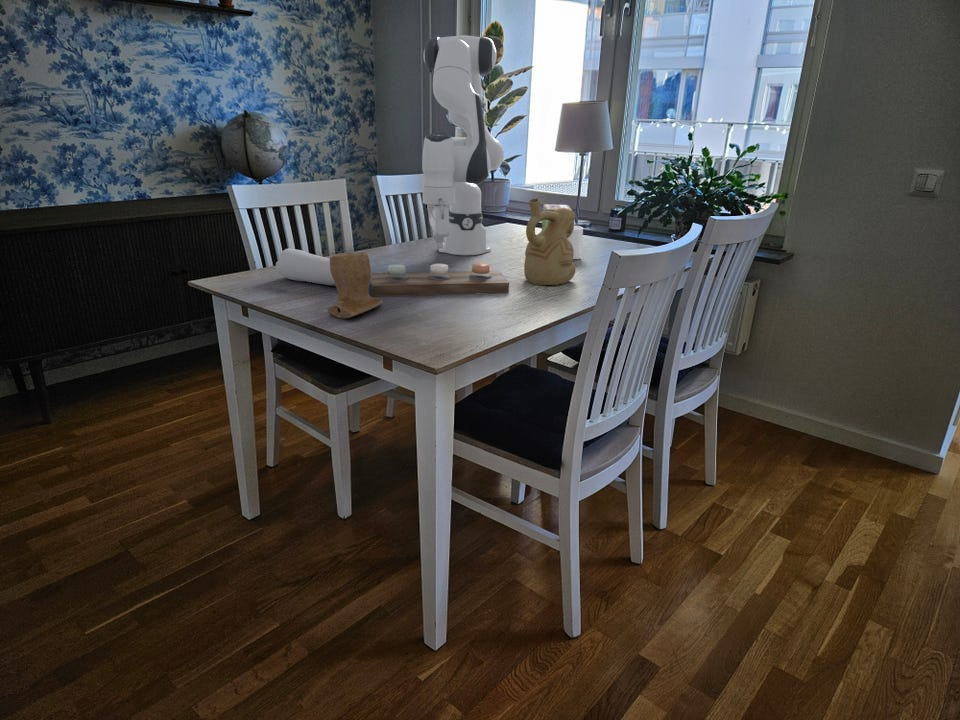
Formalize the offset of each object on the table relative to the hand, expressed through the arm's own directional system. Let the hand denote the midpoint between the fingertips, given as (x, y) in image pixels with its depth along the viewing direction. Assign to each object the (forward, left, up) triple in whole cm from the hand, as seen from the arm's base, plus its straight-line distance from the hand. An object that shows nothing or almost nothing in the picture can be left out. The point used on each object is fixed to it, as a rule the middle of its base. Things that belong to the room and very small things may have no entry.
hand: (439, 247), depth 175 cm
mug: (-34, +48, -12) cm, 60 cm away
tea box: (-57, +50, -12) cm, 77 cm away
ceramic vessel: (-5, +33, -12) cm, 36 cm away
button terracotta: (0, +12, -7) cm, 14 cm away
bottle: (-6, -33, -12) cm, 36 cm away
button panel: (0, 0, -12) cm, 12 cm away
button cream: (0, 0, -7) cm, 7 cm away
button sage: (0, -12, -7) cm, 14 cm away
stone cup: (+20, -24, -12) cm, 33 cm away
